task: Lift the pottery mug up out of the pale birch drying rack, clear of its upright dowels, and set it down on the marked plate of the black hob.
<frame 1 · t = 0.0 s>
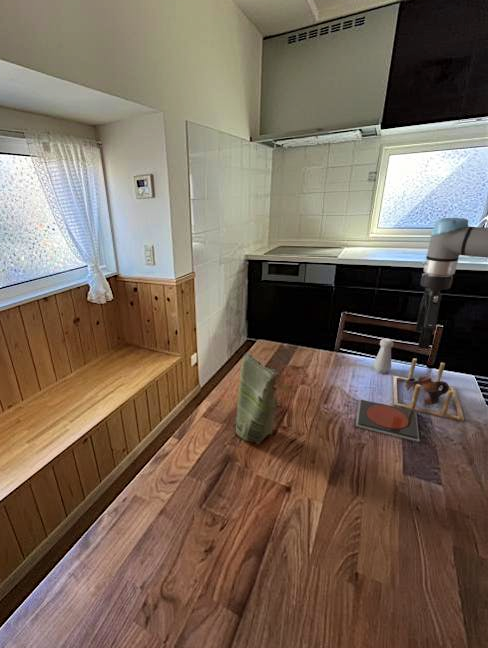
hand: (421, 339, 107), 19 cm above the table, tool pointing down, fingers open, 13 cm apart
hob: (386, 420, 102), on the table
pottery mug: (424, 397, 111), on the table
pouch: (255, 433, 100), on the table
salt shaker: (380, 371, 128), on the table
drying rack: (424, 397, 111), on the table
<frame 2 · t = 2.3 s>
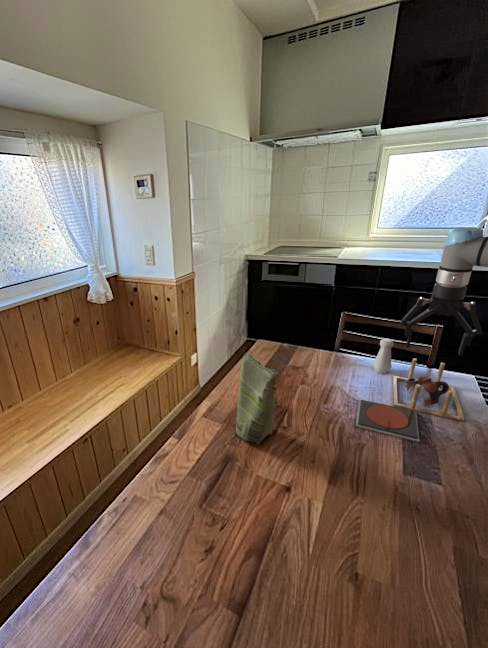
hand: (433, 349, 105), 17 cm above the table, tool pointing down, fingers open, 13 cm apart
nothing on the table moved.
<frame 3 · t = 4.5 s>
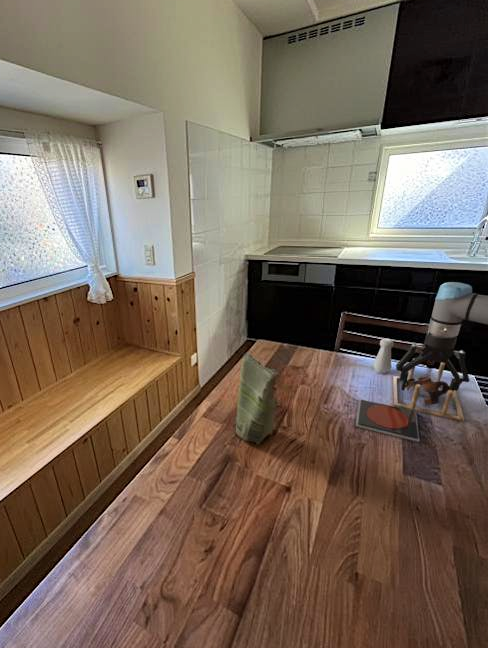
hand: (425, 393, 111), 2 cm above the table, tool pointing down, fingers closed on pottery mug, 12 cm apart
pottery mug: (424, 397, 111), on the table, touching gripper
everything else where it was.
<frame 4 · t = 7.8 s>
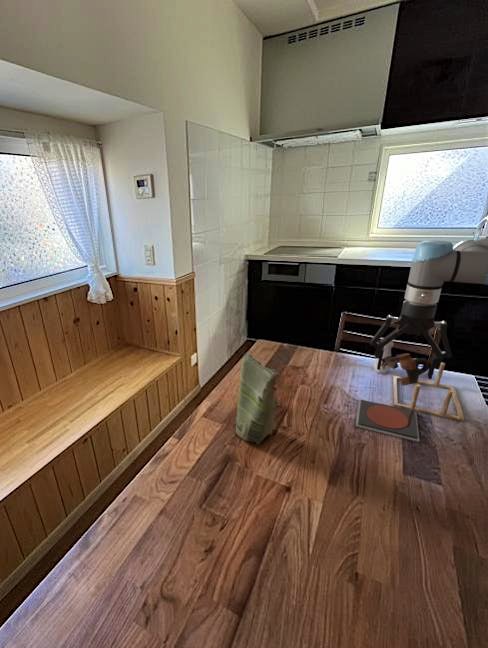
hand: (403, 372, 98), 16 cm above the table, tool pointing down, fingers closed on pottery mug, 12 cm apart
pottery mug: (402, 377, 98), point 14 cm above the table, touching gripper
everything else where it was.
when the fingers open (3 cm above the table, at t = 11.6 s): pottery mug stays where it is, resting on hob.
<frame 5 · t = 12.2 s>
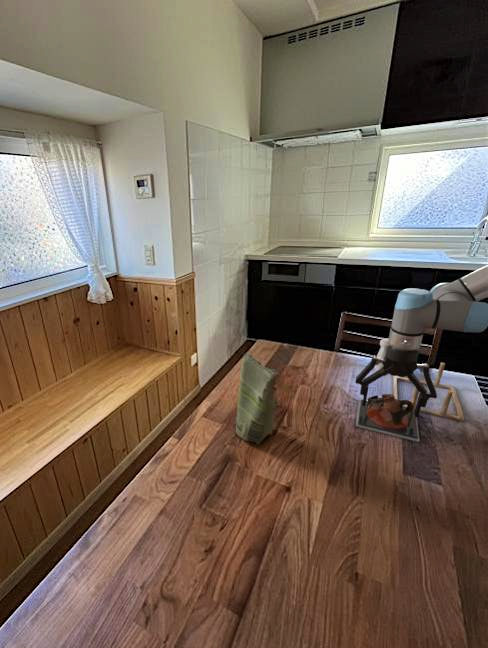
hand: (389, 409, 100), 4 cm above the table, tool pointing down, fingers open, 13 cm apart
pottery mug: (387, 417, 102), point 1 cm above the table, touching hob
everything else where it was.
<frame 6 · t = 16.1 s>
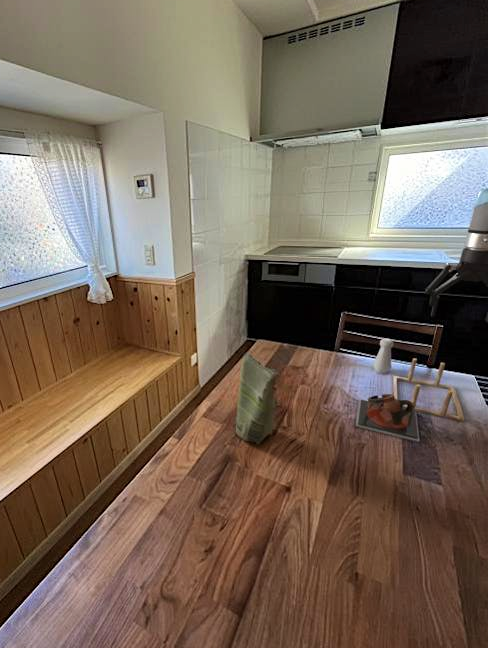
hand: (459, 318, 103), 27 cm above the table, tool pointing down, fingers open, 13 cm apart
nothing on the table moved.
at the end: pottery mug inside the target area on the hob (0.2 cm from its centre), point 1.2 cm above the hob's base; pottery mug tilted 0°; the gripper is holding nothing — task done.
